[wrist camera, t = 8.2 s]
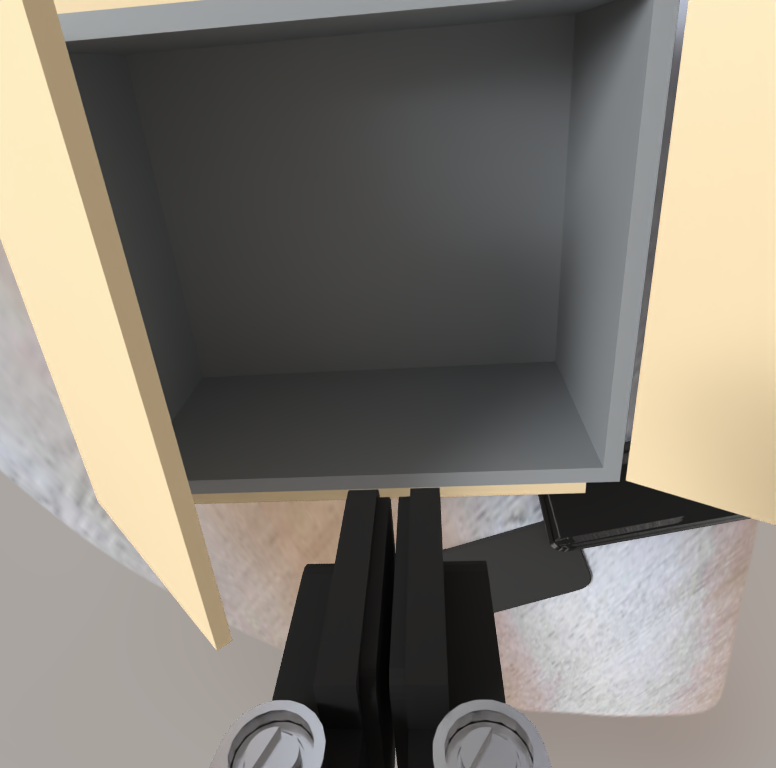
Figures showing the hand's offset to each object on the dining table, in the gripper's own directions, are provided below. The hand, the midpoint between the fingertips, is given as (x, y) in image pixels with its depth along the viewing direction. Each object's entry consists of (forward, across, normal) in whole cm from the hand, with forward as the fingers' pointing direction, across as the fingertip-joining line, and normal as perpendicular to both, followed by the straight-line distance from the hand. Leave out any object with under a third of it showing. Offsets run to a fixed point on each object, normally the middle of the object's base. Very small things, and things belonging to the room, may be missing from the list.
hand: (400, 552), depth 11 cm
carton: (+26, +3, -1) cm, 27 cm away
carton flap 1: (+10, +11, -1) cm, 15 cm away
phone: (+28, -4, +27) cm, 39 cm away
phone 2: (+27, -15, +19) cm, 36 cm away
